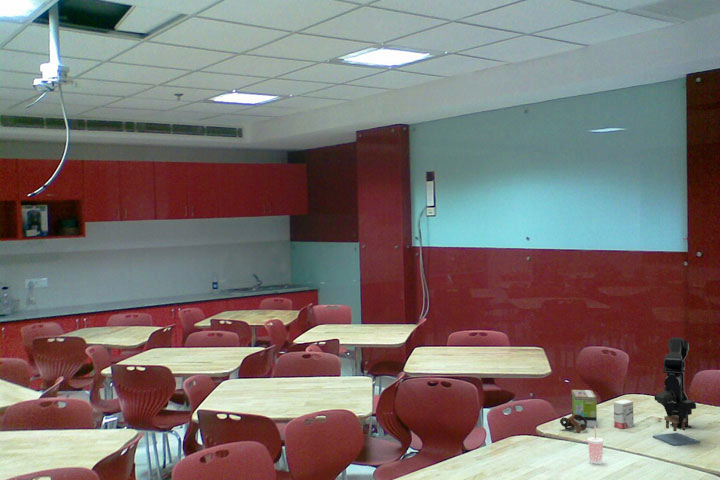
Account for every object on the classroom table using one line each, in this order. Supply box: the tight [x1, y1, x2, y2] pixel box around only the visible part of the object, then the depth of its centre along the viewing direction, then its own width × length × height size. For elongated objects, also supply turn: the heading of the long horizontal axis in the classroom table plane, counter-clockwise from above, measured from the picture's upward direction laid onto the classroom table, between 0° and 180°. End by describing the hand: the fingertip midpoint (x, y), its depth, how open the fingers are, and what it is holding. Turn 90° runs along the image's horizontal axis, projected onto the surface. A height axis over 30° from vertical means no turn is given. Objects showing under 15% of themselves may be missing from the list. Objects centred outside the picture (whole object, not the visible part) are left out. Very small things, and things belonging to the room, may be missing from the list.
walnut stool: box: [664, 415, 686, 432], centre depth 286 cm, size 6×6×5 cm
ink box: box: [613, 399, 635, 430], centre depth 308 cm, size 9×5×12 cm, turn 123°
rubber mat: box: [652, 432, 700, 447], centre depth 286 cm, size 13×13×1 cm
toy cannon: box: [559, 414, 588, 434], centre depth 304 cm, size 12×10×8 cm
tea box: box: [571, 389, 598, 429], centre depth 315 cm, size 15×10×15 cm
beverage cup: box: [586, 427, 604, 465], centre depth 261 cm, size 6×6×14 cm
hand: (675, 420), depth 286 cm, fingers closed on walnut stool, 6 cm apart
